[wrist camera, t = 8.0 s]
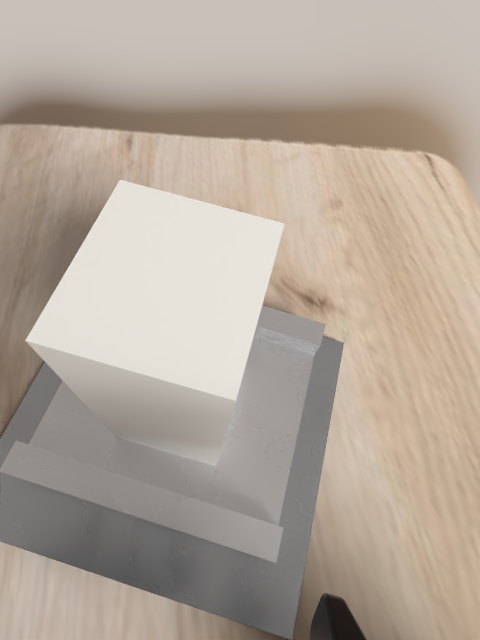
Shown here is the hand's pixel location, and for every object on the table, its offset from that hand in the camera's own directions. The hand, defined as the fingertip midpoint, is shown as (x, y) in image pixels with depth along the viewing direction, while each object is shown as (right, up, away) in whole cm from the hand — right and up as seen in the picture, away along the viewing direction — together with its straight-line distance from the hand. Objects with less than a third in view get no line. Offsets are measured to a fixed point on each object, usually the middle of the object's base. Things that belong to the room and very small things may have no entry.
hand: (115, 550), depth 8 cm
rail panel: (0, +1, +11) cm, 11 cm away
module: (0, +1, +10) cm, 10 cm away
